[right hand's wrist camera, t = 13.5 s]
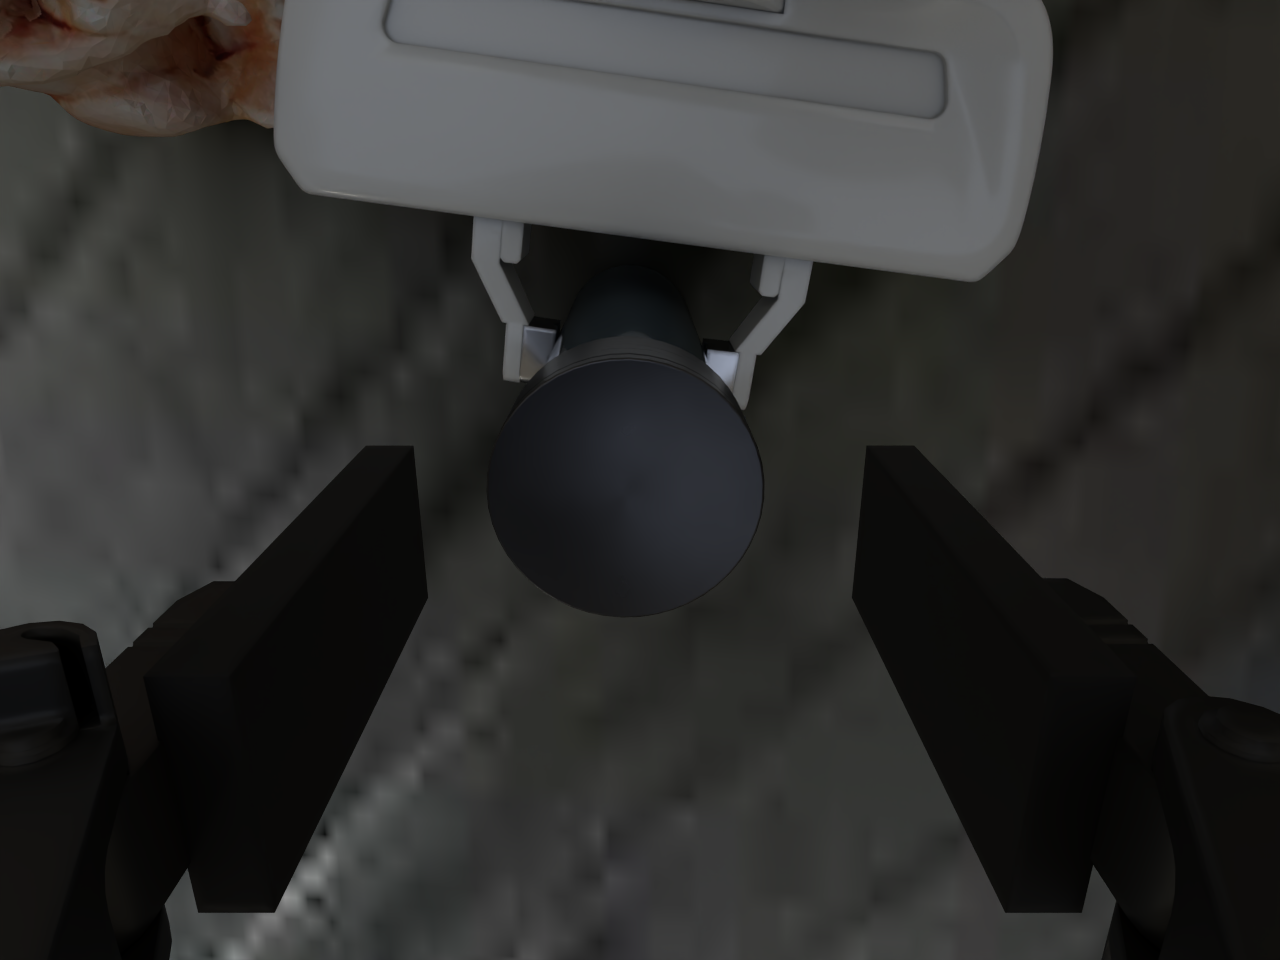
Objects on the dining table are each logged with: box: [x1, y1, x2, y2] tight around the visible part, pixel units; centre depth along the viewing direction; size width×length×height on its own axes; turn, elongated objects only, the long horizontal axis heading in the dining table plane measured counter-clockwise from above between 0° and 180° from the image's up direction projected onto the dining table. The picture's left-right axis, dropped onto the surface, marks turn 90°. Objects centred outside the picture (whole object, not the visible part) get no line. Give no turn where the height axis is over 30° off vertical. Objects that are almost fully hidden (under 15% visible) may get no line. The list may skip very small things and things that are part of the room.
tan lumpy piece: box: [0, 0, 285, 137], centre depth 21 cm, size 6×8×15 cm
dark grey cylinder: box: [547, 265, 710, 367], centre depth 24 cm, size 4×4×17 cm
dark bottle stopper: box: [487, 336, 764, 617], centre depth 17 cm, size 5×5×2 cm
